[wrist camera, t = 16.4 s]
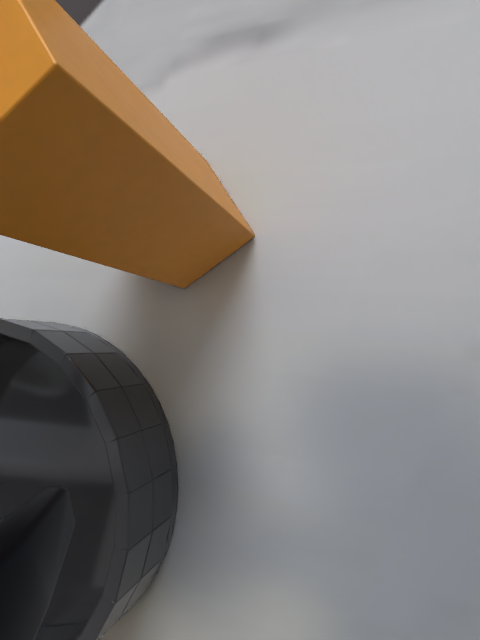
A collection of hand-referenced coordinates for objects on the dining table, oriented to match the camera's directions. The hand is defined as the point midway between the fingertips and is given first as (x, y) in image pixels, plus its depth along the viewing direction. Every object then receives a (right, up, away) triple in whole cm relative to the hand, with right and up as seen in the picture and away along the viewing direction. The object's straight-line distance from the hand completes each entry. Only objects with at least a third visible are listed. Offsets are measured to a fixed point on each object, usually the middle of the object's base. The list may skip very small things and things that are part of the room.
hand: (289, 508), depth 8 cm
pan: (-11, -4, +12) cm, 17 cm away
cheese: (-3, +8, +11) cm, 14 cm away
